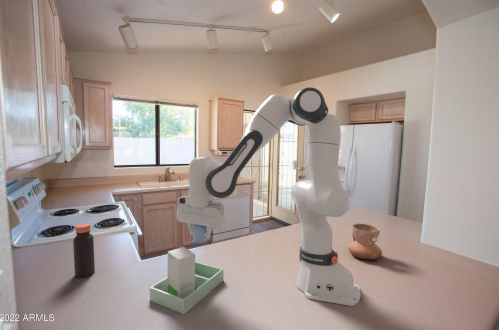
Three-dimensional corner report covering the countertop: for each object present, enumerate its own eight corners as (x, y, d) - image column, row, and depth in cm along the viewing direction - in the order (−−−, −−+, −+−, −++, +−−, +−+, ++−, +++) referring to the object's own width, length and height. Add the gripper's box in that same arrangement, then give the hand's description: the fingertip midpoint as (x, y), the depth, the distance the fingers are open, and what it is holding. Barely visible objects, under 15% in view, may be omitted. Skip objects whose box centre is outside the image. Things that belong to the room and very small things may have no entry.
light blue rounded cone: (201, 244, 89) (201, 228, 89) (190, 241, 91) (190, 226, 91) (209, 239, 94) (209, 224, 94) (198, 237, 96) (198, 222, 96)
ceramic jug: (390, 263, 109) (391, 232, 108) (359, 264, 108) (360, 232, 107) (367, 248, 127) (368, 221, 126) (340, 248, 126) (341, 221, 125)
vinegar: (98, 272, 101) (96, 224, 99) (80, 280, 95) (77, 229, 93) (89, 268, 104) (87, 222, 103) (71, 275, 98) (69, 226, 97)
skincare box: (167, 294, 86) (166, 251, 85) (184, 287, 90) (183, 245, 89) (178, 305, 80) (178, 259, 79) (196, 296, 84) (195, 253, 83)
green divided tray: (223, 280, 95) (223, 269, 95) (184, 314, 75) (183, 300, 75) (193, 271, 102) (193, 260, 101) (149, 300, 82) (149, 287, 82)
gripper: (228, 201, 90) (227, 238, 91) (184, 195, 99) (184, 229, 100) (219, 204, 84) (218, 243, 85) (173, 198, 93) (173, 233, 94)
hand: (199, 235), depth 93 cm, fingers closed on light blue rounded cone, 5 cm apart
